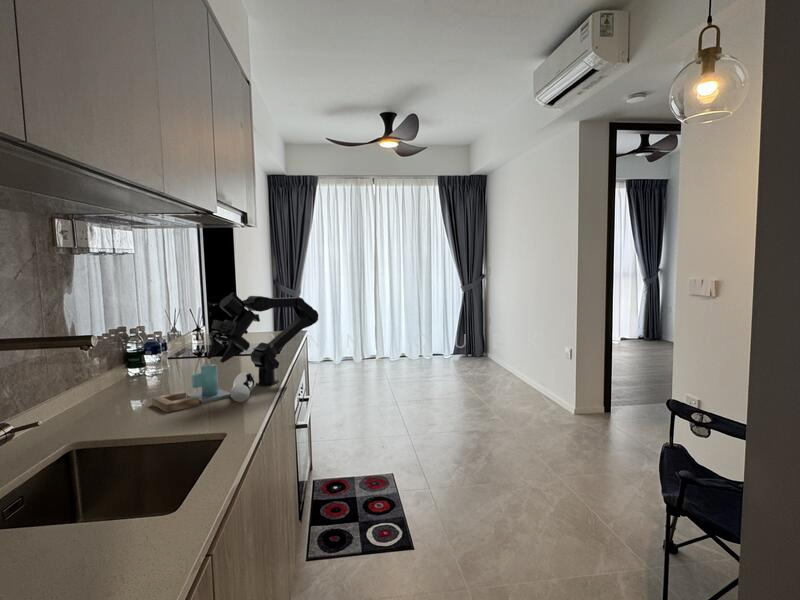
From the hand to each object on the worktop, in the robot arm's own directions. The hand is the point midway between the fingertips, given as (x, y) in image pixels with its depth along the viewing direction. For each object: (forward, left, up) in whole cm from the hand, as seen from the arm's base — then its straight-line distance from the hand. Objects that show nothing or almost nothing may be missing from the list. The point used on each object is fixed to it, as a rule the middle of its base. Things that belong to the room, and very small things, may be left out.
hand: (214, 360), depth 162 cm
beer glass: (+5, +13, -10) cm, 17 cm away
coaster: (+2, -1, -13) cm, 13 cm away
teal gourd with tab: (+3, -2, -12) cm, 12 cm away
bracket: (+11, -6, -13) cm, 18 cm away
